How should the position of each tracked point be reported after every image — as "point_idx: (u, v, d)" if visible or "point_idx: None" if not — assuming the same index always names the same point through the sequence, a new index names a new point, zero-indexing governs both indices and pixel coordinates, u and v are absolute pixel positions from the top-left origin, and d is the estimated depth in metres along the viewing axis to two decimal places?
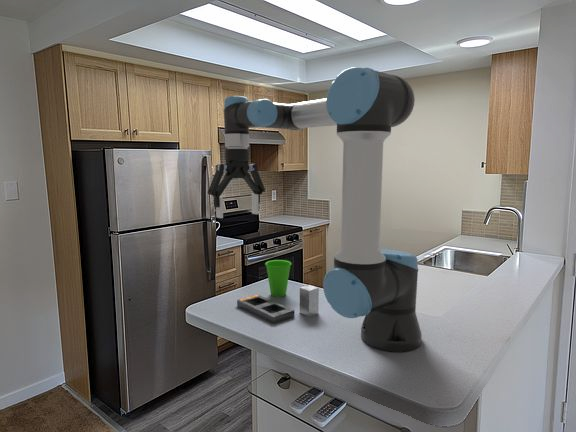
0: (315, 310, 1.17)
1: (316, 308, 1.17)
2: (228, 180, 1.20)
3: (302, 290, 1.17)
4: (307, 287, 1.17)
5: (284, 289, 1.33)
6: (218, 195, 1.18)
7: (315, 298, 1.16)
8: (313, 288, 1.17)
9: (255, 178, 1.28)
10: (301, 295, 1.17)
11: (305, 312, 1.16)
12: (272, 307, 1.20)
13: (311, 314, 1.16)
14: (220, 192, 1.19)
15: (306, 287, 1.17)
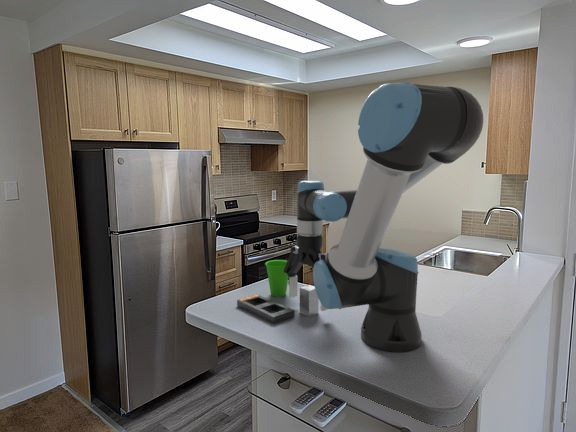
0: (315, 310, 1.17)
1: (316, 308, 1.17)
2: (296, 263, 1.19)
3: (302, 290, 1.17)
4: (307, 287, 1.17)
5: (284, 289, 1.33)
6: (288, 275, 1.22)
7: (315, 298, 1.16)
8: (313, 288, 1.17)
9: None
10: (301, 295, 1.17)
11: (305, 312, 1.16)
12: (272, 307, 1.20)
13: (311, 314, 1.16)
14: (290, 272, 1.21)
15: (306, 287, 1.17)
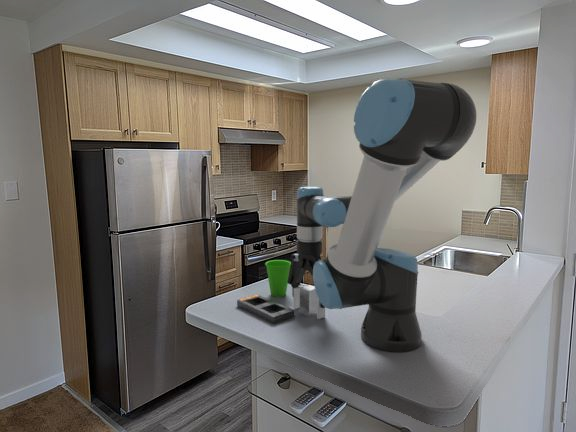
0: (315, 310, 1.17)
1: (316, 308, 1.17)
2: (298, 272, 1.18)
3: (302, 290, 1.17)
4: (307, 287, 1.17)
5: (284, 289, 1.33)
6: (292, 286, 1.21)
7: (315, 298, 1.16)
8: (313, 288, 1.17)
9: None
10: (301, 295, 1.17)
11: (305, 312, 1.16)
12: (272, 307, 1.20)
13: (311, 314, 1.16)
14: (293, 283, 1.20)
15: (306, 287, 1.17)
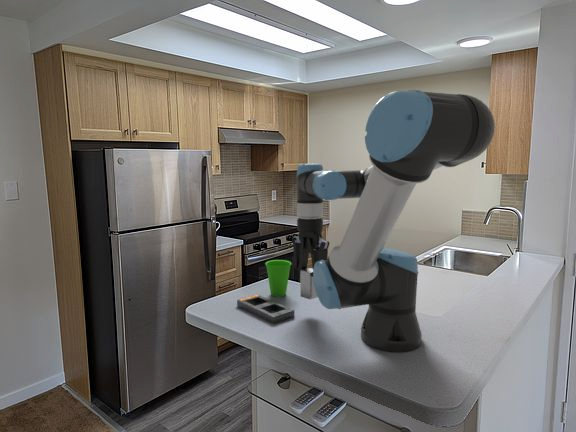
0: None
1: None
2: (302, 253, 1.16)
3: (302, 272, 1.15)
4: (308, 269, 1.16)
5: (284, 289, 1.33)
6: (299, 271, 1.18)
7: None
8: None
9: None
10: (302, 277, 1.16)
11: (307, 295, 1.15)
12: (272, 307, 1.20)
13: None
14: (300, 267, 1.17)
15: (307, 270, 1.16)
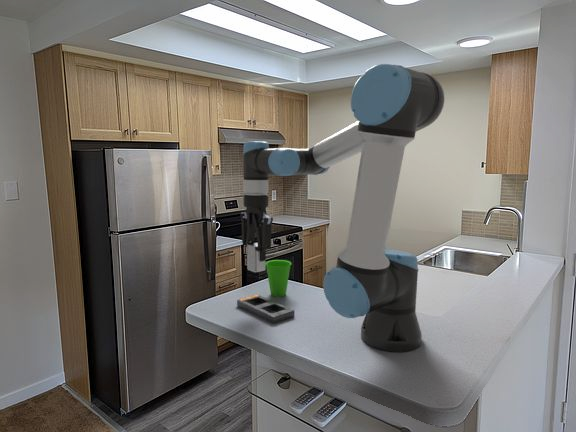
0: None
1: None
2: (248, 228, 1.20)
3: (249, 247, 1.20)
4: (255, 244, 1.20)
5: (284, 289, 1.33)
6: (246, 245, 1.22)
7: None
8: None
9: None
10: (248, 251, 1.20)
11: (252, 268, 1.19)
12: (272, 307, 1.20)
13: None
14: (247, 242, 1.21)
15: (253, 244, 1.20)
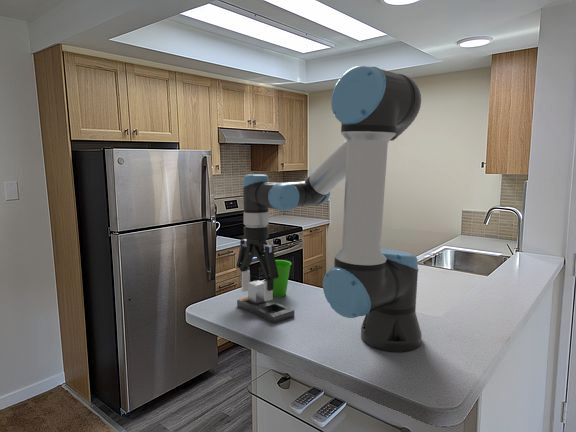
0: None
1: (264, 302, 1.22)
2: (246, 256, 1.22)
3: (250, 285, 1.21)
4: (255, 282, 1.22)
5: (284, 289, 1.33)
6: (240, 269, 1.25)
7: (262, 293, 1.21)
8: (260, 283, 1.21)
9: None
10: (249, 290, 1.22)
11: None
12: (272, 307, 1.20)
13: None
14: (241, 267, 1.25)
15: (254, 282, 1.22)
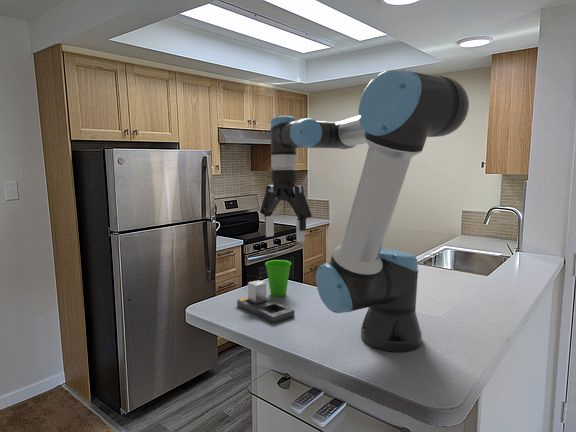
0: None
1: (264, 302, 1.22)
2: (272, 201, 1.22)
3: (250, 285, 1.21)
4: (255, 282, 1.22)
5: (284, 289, 1.33)
6: (264, 214, 1.25)
7: (262, 293, 1.21)
8: (260, 283, 1.21)
9: None
10: (249, 290, 1.22)
11: None
12: (272, 307, 1.20)
13: None
14: (266, 212, 1.24)
15: (254, 282, 1.22)
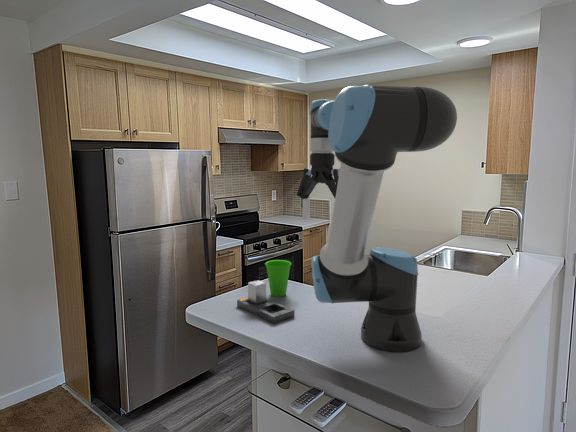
0: None
1: (264, 302, 1.22)
2: (309, 184, 1.24)
3: (249, 285, 1.21)
4: (255, 282, 1.22)
5: (284, 289, 1.33)
6: (301, 197, 1.27)
7: (262, 293, 1.21)
8: (260, 283, 1.21)
9: None
10: (249, 290, 1.22)
11: None
12: (272, 307, 1.20)
13: None
14: (303, 194, 1.27)
15: (254, 282, 1.22)
